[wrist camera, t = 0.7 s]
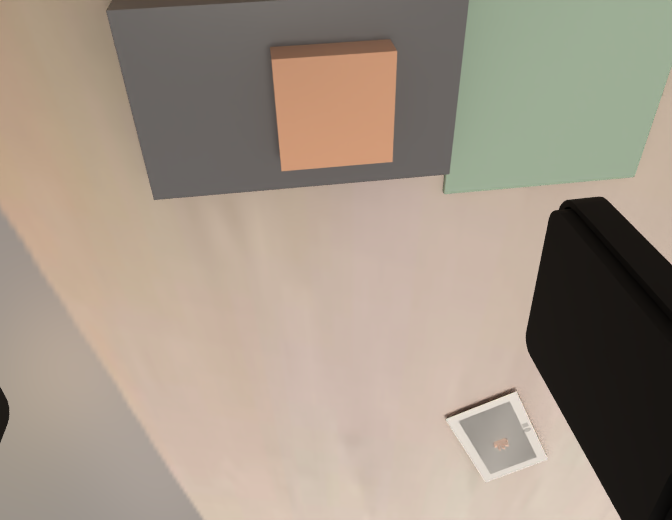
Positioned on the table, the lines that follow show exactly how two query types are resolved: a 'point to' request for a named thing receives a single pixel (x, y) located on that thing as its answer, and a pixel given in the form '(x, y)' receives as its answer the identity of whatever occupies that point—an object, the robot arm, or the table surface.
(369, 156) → the terracotta tile
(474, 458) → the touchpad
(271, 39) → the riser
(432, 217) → the table surface
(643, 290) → the robot arm
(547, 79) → the mat
